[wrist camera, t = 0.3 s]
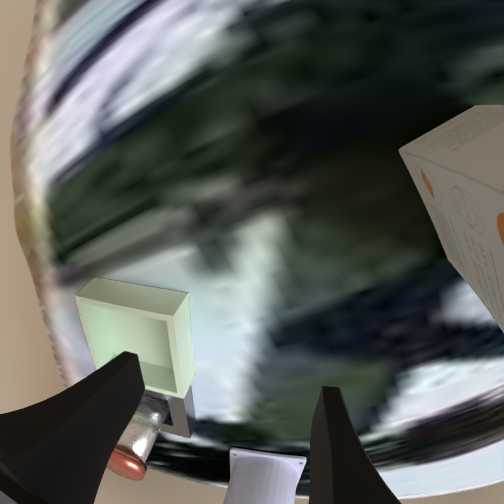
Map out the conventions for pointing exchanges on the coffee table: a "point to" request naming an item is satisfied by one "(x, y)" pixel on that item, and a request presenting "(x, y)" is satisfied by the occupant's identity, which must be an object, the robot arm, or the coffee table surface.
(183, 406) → the block
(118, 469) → the lock pin
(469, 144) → the small box
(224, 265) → the coffee table surface
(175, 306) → the tray
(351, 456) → the robot arm
